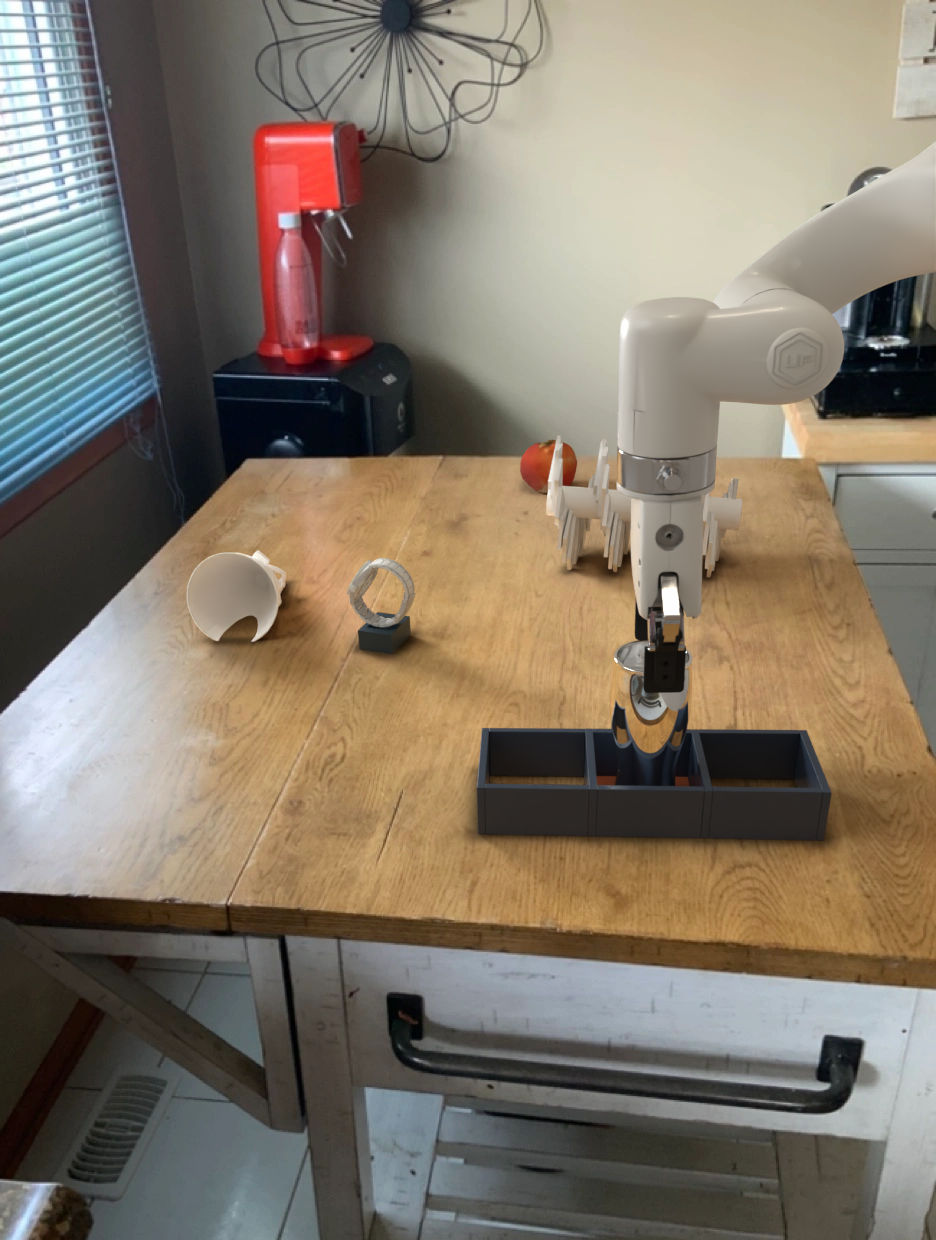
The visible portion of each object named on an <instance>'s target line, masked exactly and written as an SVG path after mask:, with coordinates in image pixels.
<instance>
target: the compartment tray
mask: <svg viewBox="0 0 936 1240" xmlns="http://www.w3.org/2000/svg"><path fill="white" fill-rule="evenodd" d="M491 776H493V777H494V776H496V777H497V776H499V777H501V776H503V777H569V778H570V777H578V778H580V777H583V783H584V784H544V783H543V784H538V783H537V784H535V783H533V784H531V783H524V784H523V783H490V780H491V779H490V777H491ZM615 776H616V755H615V748H614V742H613V735H612V729H611V728H588V727H587V728H566V727H565V728H560V727H559V728H555V727H554V728H553V727H552V728H551V727H550V728H549V727H548V728H543V727H542V728H541V727H540V728H539V727H534V728H533V727H482V728H481V735H480V745H479V756H478V768H477V780H476V812H477V813H476V814H477V815H476V817H477V818H476V819H477V835H502V836H503V835H504V836H557V837H559V836H560V837H609V838H610V837H611V838H613V837H614V838H615V837H616V838H663V839H664V838H667V839H669V838H670V839H715V840H716V839H722V840H723V839H724V840H766V841H767V840H771V841H773V840H775V841H776V840H777V841H825V836H826V830H827V824H828V817H829V813H830V812H829V811H830V805H831V798H832V793H833V792H832V790H831V787H830V785H829V782H828V780H827V777H826V775H825V773H824V770H823V768H822V765H821V763H820V760H819V757H818V755H817V753H816V750H815V748H814V745H813V743H812V740H811V738H810V735H809V733H808V730H806V729H731V728H730V729H729V728H728V729H723V728H721V729H717V728H715V729H713V728H712V729H711V728H710V729H709V728H707V729H706V728H705V729H703V728H699V729H696V728H695V729H694V728H693V729H691V728H687V731H686V734H685V738H684V741H683V745H682V748H681V752H680V755H679V759H678V763H677V768H676V786H622V785H613V784H614V780H615ZM711 779H730V780H731V779H738V780H794V784H795V785H796V787H777V786H776V787H773V786H772V787H771V786H769V787H768V786H713V785H712V780H711Z"/></svg>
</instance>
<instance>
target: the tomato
mask: <svg viewBox="0 0 936 1240" xmlns="http://www.w3.org/2000/svg"><path fill="white" fill-rule="evenodd" d="M556 440H557V439H548V440H547V441H544V442H541V441H540V442H535V443H533V444H532V445H531V446H529V447H528V448H527V449H526V450H525V451H524V452H523V454H522V456H521V459H520V462H519V463H520V465H519V466H520V467H519V472H520V476H521V479H522V480H523V481H524V482H525V483H526V484H527V485H528V486H529V487H530V488H531V489H533V490H534V491H536V492H538V493H541V494H548V479H549V474H550V469H551V464H552V459H553V454H554V449H555V445H556ZM562 444H563V449H562V459H563V483H562V486H572V485H573V483H574V480H575V477H576V473H577V467H578V460H577V456H576V453H575V450H574V448H573V447H572V446H571V445H570V444H568V443H566V442H564V441H562Z"/></svg>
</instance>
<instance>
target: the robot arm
mask: <svg viewBox="0 0 936 1240" xmlns="http://www.w3.org/2000/svg"><path fill="white" fill-rule="evenodd" d="M933 273H936V140H935V141H934V142H932V144H930V145H929V146H928V147H926V148H925V149H924V150H922V151H921V152H920V153H919V154H917V155H916V156H914V157H913V158H910V160H908V161H906V162H905V163H903V164H901V165H900V166H897V167H895V168H893V169H892V170H890V171H888V172H886V173H885V174H883V175H881V176H879V177H877V178H876V179H874V180H872V181H870V182H869V183H868V184H866V185H864V186H863V187H861V188H859V189H858V190H856V191H855V192H852V193H851V194H849V195H847V196H846V197H844V198H841V199H840V200H838V201H837V202H834V203H833V204H831V205H830V206H828V207H827V208H825V209H823V210H822V211H820V212H818V213H816V214H815V215H814V216H811V218H809V219H807V220H805V221H804V222H802V223H801V224H800V225H798V226H796V227H795V228H794V229H792V230H790V232H789V233H787V234H786V235H785V236H783V237H782V238H781V239H780V240H778V241H777V242H776V243H774V244H773V245H772V246H770V247H769V248H768V249H767V250H766V251H765V252H763V253H762V254H761V255H759V256H758V257H757V258H756V259H755V260H753V261H752V262H751V263H749V264H748V265H747V266H746V267H744V269H742V270H741V271H739V272H738V273H737V274H736V275H734V277H733V278H731V279H730V280H729V281H728V282H727V283H726V284H725V285H724V286H723V287H722V289H721V290H720V291H719V292H718V293H717V295H716V296H715V297H714V299H713V300H712V301H711V300H708V299H705V298H699V297H690V296H689V297H687V296H686V297H685V296H676V297H675V296H674V297H673V296H672V297H660V298H653V299H647V300H643V301H641V302H638V303H636V304H633V305H631V306H630V307H629V308H627V309H626V311H625V312H624V314H623V316H622V318H621V320H620V324H619V335H618V336H619V337H618V340H619V341H618V383H617V384H618V386H617V387H618V389H617V392H618V393H617V396H618V397H617V447H616V490H618V491H619V492H620V493H622V494H623V495H625V496H628V497H631V529H630V563H631V564H630V565H631V575H632V582H633V589H634V595H635V603H634V604H635V607H634V639H636V641H637V640H648V646H645V648H644V677H643V688H644V691H645V692H646V693H677V692H682V691H683V690H684V678H685V659H686V649H687V647H686V645H685V644H686V642H685V641H686V640H685V616H686V617H687V618H692V619H694V620H695V619H697V618H699V617H700V616H701V615H702V595H703V593H702V591H703V590H702V589H703V588H702V587H703V556H704V555H703V511H702V496H704V495H706V494H708V493H710V494H711V492H713V490H714V489H715V486H716V469H717V455H718V453H717V452H718V436H719V422H720V408H721V403H722V402H725V403H739V404H741V403H743V404H753V405H764V406H765V405H766V406H770V405H771V406H783V405H791V404H796V403H799V402H803V401H805V400H809V399H810V398H812V397H814V396H816V395H817V394H819V393H820V392H821V391H823V390H824V389H825V388H826V387H827V386H829V385H830V383H831V382H832V381H833V380H834V378H835V377H836V376H837V374H838V372H839V370H840V369H841V365H842V363H843V360H844V355H845V338H844V334H843V331H842V328H841V325H840V324H839V321H838V320H837V319H836V317H835V316H834V314H835V313H836V312H838V311H839V310H841V309H843V308H844V307H846V306H847V305H849V304H850V303H853V302H854V301H856V300H857V299H859V298H861V297H862V296H864V295H866V294H868V293H870V292H873V291H875V290H877V289H880V288H882V287H884V286H886V285H887V286H888V285H890V284H892V283H895V282H897V281H900V280H904V279H907V278H912V277H916V276H921V275H927V274H933Z"/></svg>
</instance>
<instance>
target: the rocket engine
mask: <svg viewBox="0 0 936 1240" xmlns="http://www.w3.org/2000/svg"><path fill="white" fill-rule="evenodd" d="M271 561H272V560H271V559H270V558H268V556H267V555H265V554H264V553H263V552H262V551H260V550H259V549H258V550H256V551H255V552H254V553H253V554H252V556H251V555H249V554H245V553H241V552H233V551H232V552H227V551H225V552H219V553H216V554H212V555H210V556H208V557H206V558H205V559H204V560H202V561H201V562H200V563H199V564H198V565H197V566H195V568H194V570H193V571H192V573H191V575H190V577H189V580H188V583H187V587H186V604H187V608H188V612H189V614H190V616H191V619H192V620H193V622H194V624H195V625H196V627H197V628H198V629H199V630H200V631H201V632H202V633H203V634H204V636H207V637H208V638H210V639H211V640H213V641H215V642H219V641H220V639H221V637H222V636H223V634H224V633H225V632H226V631H227V630H228V629H230V628H231V626H233V625H234V624H235V623H236V622H238V621H240V620H242V619H244V618H246V617H250V616H251V617H252V616H253V617H254V618H256V620H257V630H256V633H255V636H254V637H253V638H252V639H251V641H250V642H251V643H253V642H256V641H258V640H260V639H261V638H263V637H264V636H265V635H266V634H267V633H268V632H269V631H270V629H271V627H272V626H273V625H274V623H275V620H276V618H277V615H278V611H279V607H280V606H281V604H282V603H283V601H282V597H281V594H282V591H283V590H285V587H286V585H287V584H286V580H287V572H286V571H285V570H284V569H282V568H280V567H278V566H275V565H272V564H270V562H271ZM276 574H280V575H281V577H280V578H279V579H278V577H277V576H276Z"/></svg>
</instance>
